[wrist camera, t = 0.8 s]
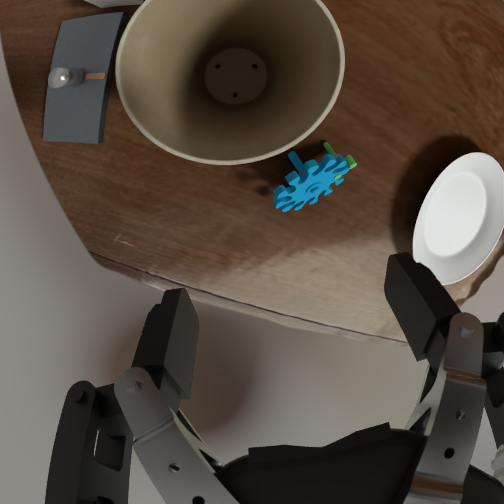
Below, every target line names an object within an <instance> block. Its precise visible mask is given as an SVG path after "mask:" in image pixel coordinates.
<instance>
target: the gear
mask: <svg viewBox="0 0 504 504" xmlns="http://www.w3.org/2000/svg"><path fill="white" fill-rule="evenodd" d="M323 146H324V147H325V149H326V150H327V151H328V153H329V154H326V155H325V156H324V157H323V159H322V161H321V162H319V163H317V162H316V161H315V159H313V160H310V161H307V162H305V163H304V164H303V163H302V162H301V160H300V159H299V157H298V156H297V154H296V153H295V152H294V151H292V152H290V153H289V154H288V157H289V158H290V160H291V161H292V163H293V164H294V166H295V167H296V169H297V170H298V172H299V174H297V172H296V171H293V172H291V173H289V174H288V175H287V176H285V179H286V180H287V182H288V183H289V185H291V186H290V187H288V188H285V187H284V185H279V186H278V187H277V188H276V189H275V190H274V194H275V195H276V197H275V198H274V199H273V204H274V206H275V207H276V208H279V207H281V209H282V211H283V212H286V211H288V210H289V209H290V208H291V207H293V209H294V210H299V209H301V208H302V207H303V205H304V204H305V203H306V202H307V201H308V203H309V205H310V204H313V203H315V202H317V201H318V199H317V198H318V196H319V194H320V193H321V192H323V194H324V195H327V194H329V193H331V192H332V191H333V190H332V189H331V187H330V184H331V183H333V182H334V183H335V184H336V185H338V184H340V183H341V182H342V181H343V180H344V178H343V177H342V175H344V174H346V173H347V172H348V170H349V168H350V169H351V168H354V167H355V166H356V165H357V164H356V162H355V161H354V159H353V158H352V157H351V155H347V156H346V157H345V158H343V156H342V155H341V154H340V153H338V154H336V153H335V151H334V150H333V149H332V147H331V146H330V145H329V143H328V142H325V143H324V144H323ZM347 165H348V166H347Z"/></svg>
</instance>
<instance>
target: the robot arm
mask: <svg viewBox="0 0 504 504" xmlns="http://www.w3.org/2000/svg"><path fill="white" fill-rule="evenodd" d="M384 292H385V296H386V299H387V301H388V303H389V305H390V307H391V309H392V311H393V313H394V314H395V316H396V318H397V320H398V322H399V324H400V326H401V328H402V330H403V332H404V334H405V336H406V339H407V341H408V343H409V345H410V347H411V349H412V351H413V353H414V356H415V358H416V360H417V362H418V361H421V360H424V359H426V358H427V359H428V362H429V364H428V366H427V369H426V373H425V377H424V381H423V384H422V387H421V391H420V394H419V397H418V400H417V403H416V406H415V408H414V411H413V413H412V414H411V416H410V418H409V420H408V422H407V424H406V426H405V429H391V428H390V425H389V422H387V423H384V424H381V425H377V426H374V427H370V428H367V429H363V430H359V431H356V432H354V433H352V434H350V435H348V436H346V437H344V438H342V439H340V440H338V441H336V442H333V443H331V444H329V445H327V446H324V447H304V446H292V445H277V446H266V447H253V448H249V449H248V451H249V454H248V455H245V456H242V457H239V458H237V459H235V460H233V461H231V462H229V463H228V464H226V465H224V463H223V462H222V461H221V460H220V459H219V458H218V457H217V455H216V454H215V453H214V452H213V451H212V450H211V449H210V448H209V447H208V446H207V445H206V444H205V442H204V441H203V440H202V439H201V437H200V436H199V435H198V433H197V432H196V431H195V429H194V428H193V427H192V425H191V424H190V422H189V421H188V420H187V418H186V417H185V416H184V414H183V413H182V411H181V410H180V409H179V402H180V399H190V395H191V386H192V378H193V370H194V363H195V355H196V348H197V341H198V334H199V320H198V316H197V313H196V311H195V309H194V307H193V304H192V302H191V299H190V297H189V295H188V292H187V290H186V289H185V288H178V289H170V290H166V291H165V292H164V295H163V298H162V302H161V304H156V305H155V306H154V307H153V308H152V310H151V311H150V312H149V314H148V315H147V318H146V321H145V326H144V327H143V331H142V335H141V337H140V340H139V344H138V346H137V350H136V353H135V356H134V360H133V363H132V366H131V368H129V369H126V370H124V371H123V372H122V373H121V374H120V375H119V376H118V377H117V379H116V381H115V383H113V384H110V385H106V386H102V387H98V388H95V387H94V386H93V385H92V384H91V383H90V382H88V381H79V382H77V383H75V384H74V385H73V386H72V387H71V388H70V389H69V391H68V393H67V396H66V399H65V402H64V406H63V409H62V413H61V417H60V420H59V425H58V428H57V433H56V438H55V442H54V446H53V451H52V456H51V462H50V467H49V474H48V481H47V489H46V497H45V504H128V491H129V476H130V464H131V454H132V445H133V448H134V451H135V453H136V454H137V456H138V458H139V460H140V462H141V464H142V465H143V467H144V469H145V471H146V472H147V474H148V476H149V477H150V479H151V481H152V482H153V484H154V486H155V487H156V488H157V490H158V492H159V493H160V495H161V496H162V497H163V499H164V501H165V502H166V504H504V367H503V365H504V312H503V313H502V314H501V315H500V317H499V318H498V320H497V322H487V323H481V322H480V320H479V319H478V318H477V317H476V316H474V315H472V314H470V313H466V312H461V311H460V309H459V308H458V306H457V305H456V304H455V302H454V301H453V299H452V298H451V296H450V295H449V294H448V292H447V291H446V289H445V288H444V287H442V284H441V283H440V281H439V280H438V279H437V277H436V276H435V275H434V273H433V272H432V271H431V270H430V269H429V268H428V267H426V266H425V265H423V264H422V263H420V262H418V263H417V262H416V261H415V260H414V259H413V257H412V256H411V255H410V254H409V253H408V252H403V253H398V254H393V255H390V256H389V258H388V264H387V271H386V278H385V284H384ZM484 407H485V409H486V413H487V416H488V419H489V422H490V425H491V428H492V432H493V435H494V438H495V442H496V446H497V452H496V455H495V458H494V459H493V460H492V462H491V468H492V469H493V470H495V472H494V475H493V477H492V476H490V475H489V474H487V473H485V472H483V471H481V470H480V469H478V468H476V467H474V466H472V465H471V464H470V461H471V458H472V455H473V451H474V448H475V444H476V440H477V436H478V432H479V428H480V423H481V419H482V414H483V408H484ZM97 430H98V431H99V434H98V439H97V445H96V451H95V457H94V448H95V441H96V436H97ZM133 436H135V441H133Z"/></svg>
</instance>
